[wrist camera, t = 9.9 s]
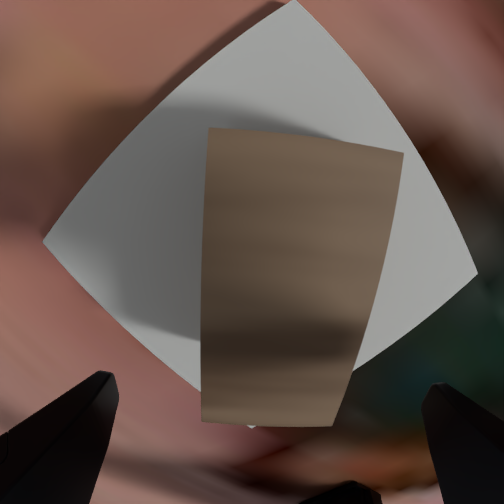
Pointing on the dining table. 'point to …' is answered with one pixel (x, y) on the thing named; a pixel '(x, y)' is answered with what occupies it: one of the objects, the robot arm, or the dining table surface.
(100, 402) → the robot arm
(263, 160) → the walnut block
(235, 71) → the grey mat
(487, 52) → the dining table surface
